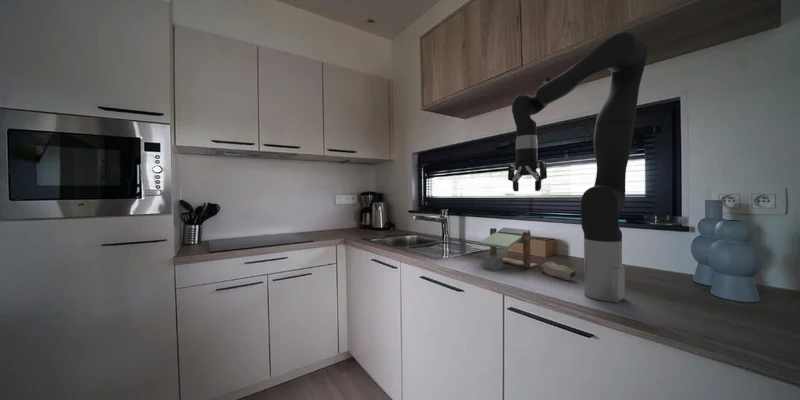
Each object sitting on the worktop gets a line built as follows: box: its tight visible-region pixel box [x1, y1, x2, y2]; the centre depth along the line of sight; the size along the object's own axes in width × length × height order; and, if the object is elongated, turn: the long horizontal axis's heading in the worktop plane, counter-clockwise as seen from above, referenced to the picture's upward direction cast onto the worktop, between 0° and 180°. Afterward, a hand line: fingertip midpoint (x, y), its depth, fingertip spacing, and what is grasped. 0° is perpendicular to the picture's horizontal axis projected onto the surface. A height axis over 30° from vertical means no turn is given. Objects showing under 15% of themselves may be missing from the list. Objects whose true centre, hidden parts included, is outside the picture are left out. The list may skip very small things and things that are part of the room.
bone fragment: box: [541, 261, 577, 281], centre depth 105 cm, size 14×6×5 cm, turn 7°
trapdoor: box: [479, 227, 532, 250], centre depth 123 cm, size 14×18×4 cm
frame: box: [489, 227, 538, 269], centre depth 126 cm, size 19×7×15 cm, turn 36°
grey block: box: [483, 254, 504, 271], centre depth 118 cm, size 5×5×6 cm
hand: (526, 191), depth 107 cm, fingers open, 8 cm apart
